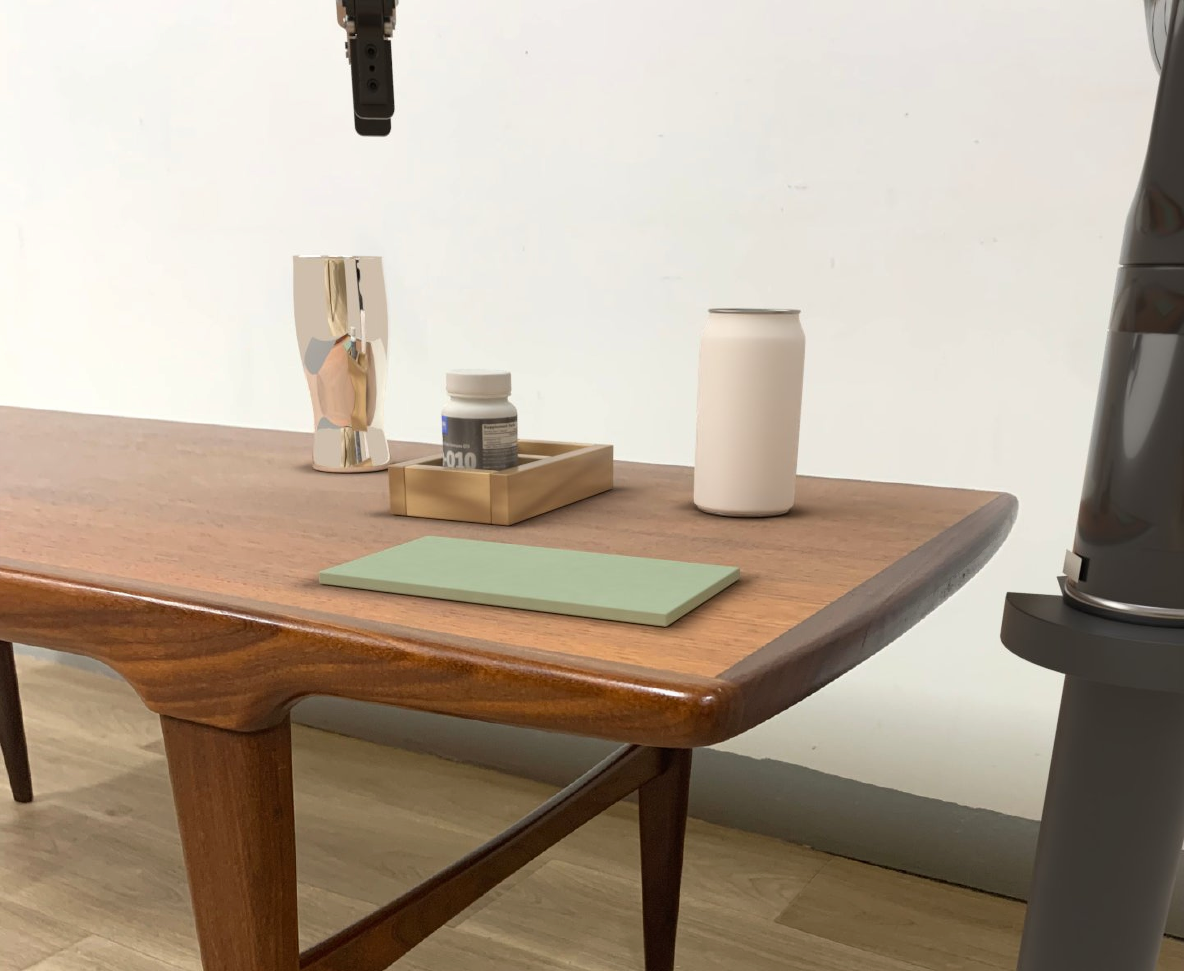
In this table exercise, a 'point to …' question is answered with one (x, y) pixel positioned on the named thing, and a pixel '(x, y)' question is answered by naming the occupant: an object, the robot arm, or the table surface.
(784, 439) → the can
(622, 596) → the mat
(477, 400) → the pill bottle
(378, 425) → the beer glass
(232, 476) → the table surface
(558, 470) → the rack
